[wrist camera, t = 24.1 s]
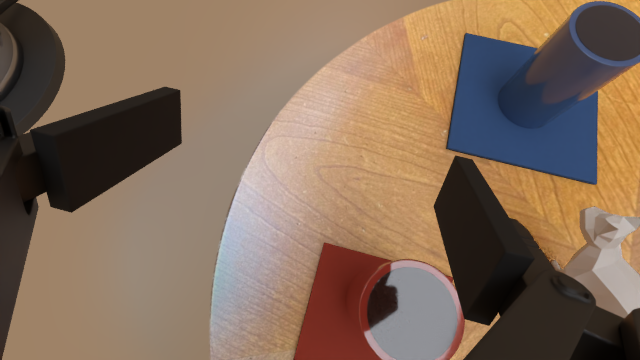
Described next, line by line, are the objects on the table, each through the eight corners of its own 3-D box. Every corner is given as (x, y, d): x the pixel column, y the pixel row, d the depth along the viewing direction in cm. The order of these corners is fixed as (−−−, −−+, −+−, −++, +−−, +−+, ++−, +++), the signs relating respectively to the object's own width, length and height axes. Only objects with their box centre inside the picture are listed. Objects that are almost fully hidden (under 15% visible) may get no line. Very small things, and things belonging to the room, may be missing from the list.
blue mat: (464, 35, 40) (466, 32, 40) (595, 63, 39) (598, 61, 38) (446, 148, 35) (447, 147, 35) (593, 184, 34) (597, 183, 34)
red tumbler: (353, 257, 31) (371, 247, 21) (419, 275, 31) (471, 274, 20) (337, 328, 30) (347, 355, 19) (407, 348, 29) (458, 388, 19)
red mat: (324, 242, 32) (324, 242, 32) (451, 277, 31) (453, 277, 31) (270, 449, 27) (269, 451, 27) (421, 498, 26) (422, 501, 26)
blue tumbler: (500, 72, 38) (570, -7, 27) (557, 85, 37) (650, 9, 27) (495, 120, 36) (568, 55, 25) (554, 134, 36) (654, 74, 25)
